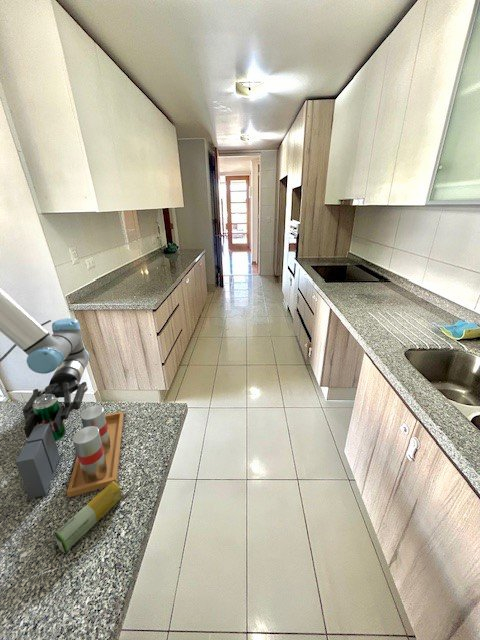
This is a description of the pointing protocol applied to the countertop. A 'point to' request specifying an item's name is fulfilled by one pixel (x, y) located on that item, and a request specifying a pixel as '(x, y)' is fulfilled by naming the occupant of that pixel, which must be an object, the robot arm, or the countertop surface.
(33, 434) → the grey packets
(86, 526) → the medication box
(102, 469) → the matching cans
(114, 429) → the can tray
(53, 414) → the soda can
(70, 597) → the countertop surface
